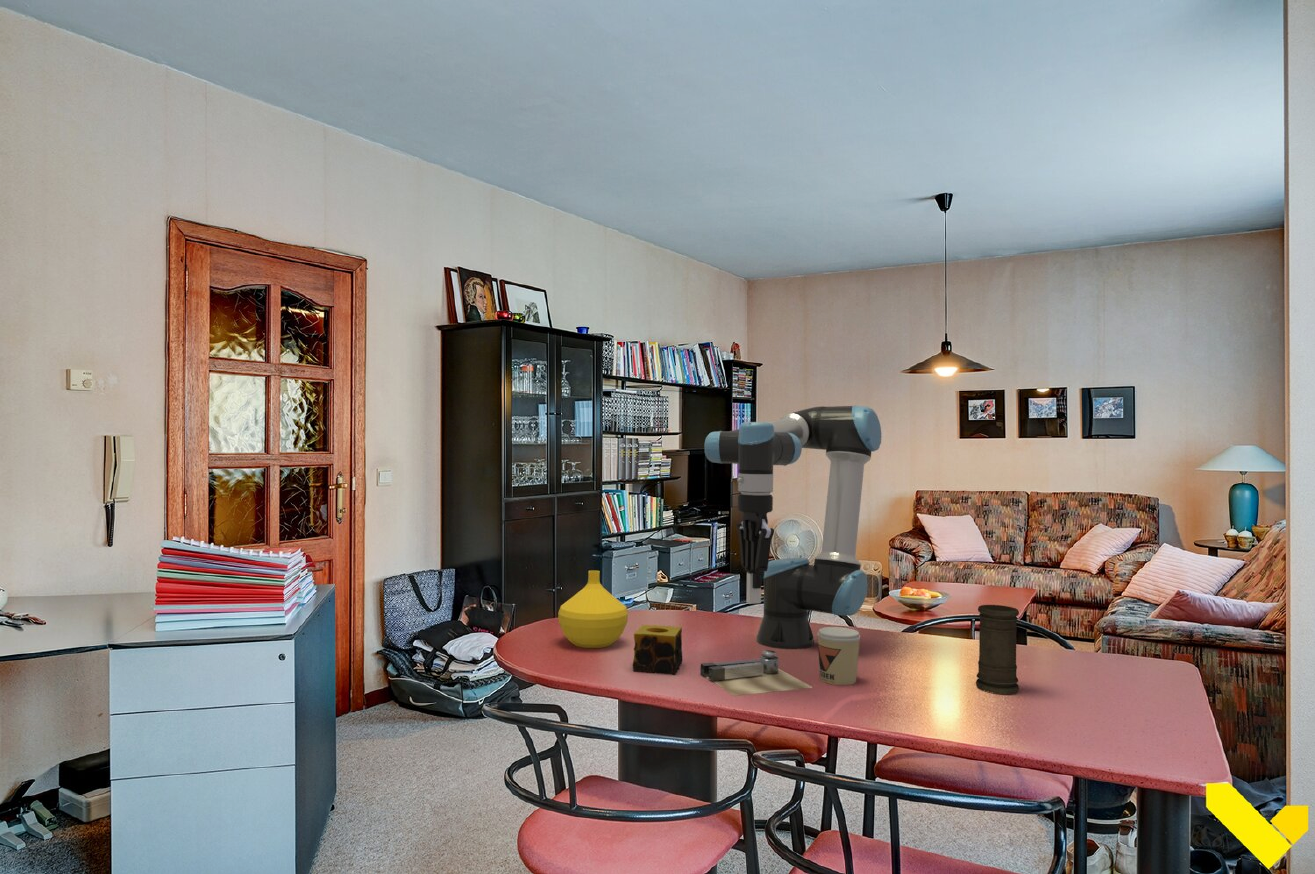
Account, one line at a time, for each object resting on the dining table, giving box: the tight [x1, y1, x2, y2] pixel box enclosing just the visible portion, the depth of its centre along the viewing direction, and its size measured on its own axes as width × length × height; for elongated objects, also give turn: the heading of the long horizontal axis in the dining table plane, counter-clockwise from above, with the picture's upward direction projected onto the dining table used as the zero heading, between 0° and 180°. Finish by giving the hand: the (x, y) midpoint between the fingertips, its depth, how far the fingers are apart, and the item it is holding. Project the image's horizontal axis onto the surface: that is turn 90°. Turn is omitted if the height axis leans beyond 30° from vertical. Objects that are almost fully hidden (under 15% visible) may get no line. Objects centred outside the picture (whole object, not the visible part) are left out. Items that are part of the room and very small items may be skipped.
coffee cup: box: [816, 626, 861, 686], centre depth 182 cm, size 9×9×12 cm
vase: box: [557, 570, 629, 649], centre depth 215 cm, size 18×18×19 cm
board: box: [706, 668, 814, 697], centre depth 181 cm, size 19×17×1 cm
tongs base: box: [699, 655, 780, 678], centre depth 185 cm, size 18×5×3 cm, turn 111°
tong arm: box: [707, 649, 777, 682], centre depth 184 cm, size 18×4×4 cm, turn 114°
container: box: [975, 604, 1020, 695], centre depth 182 cm, size 9×9×18 cm
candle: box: [632, 624, 683, 676], centre depth 190 cm, size 10×10×10 cm
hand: (753, 602), depth 176 cm, fingers closed
